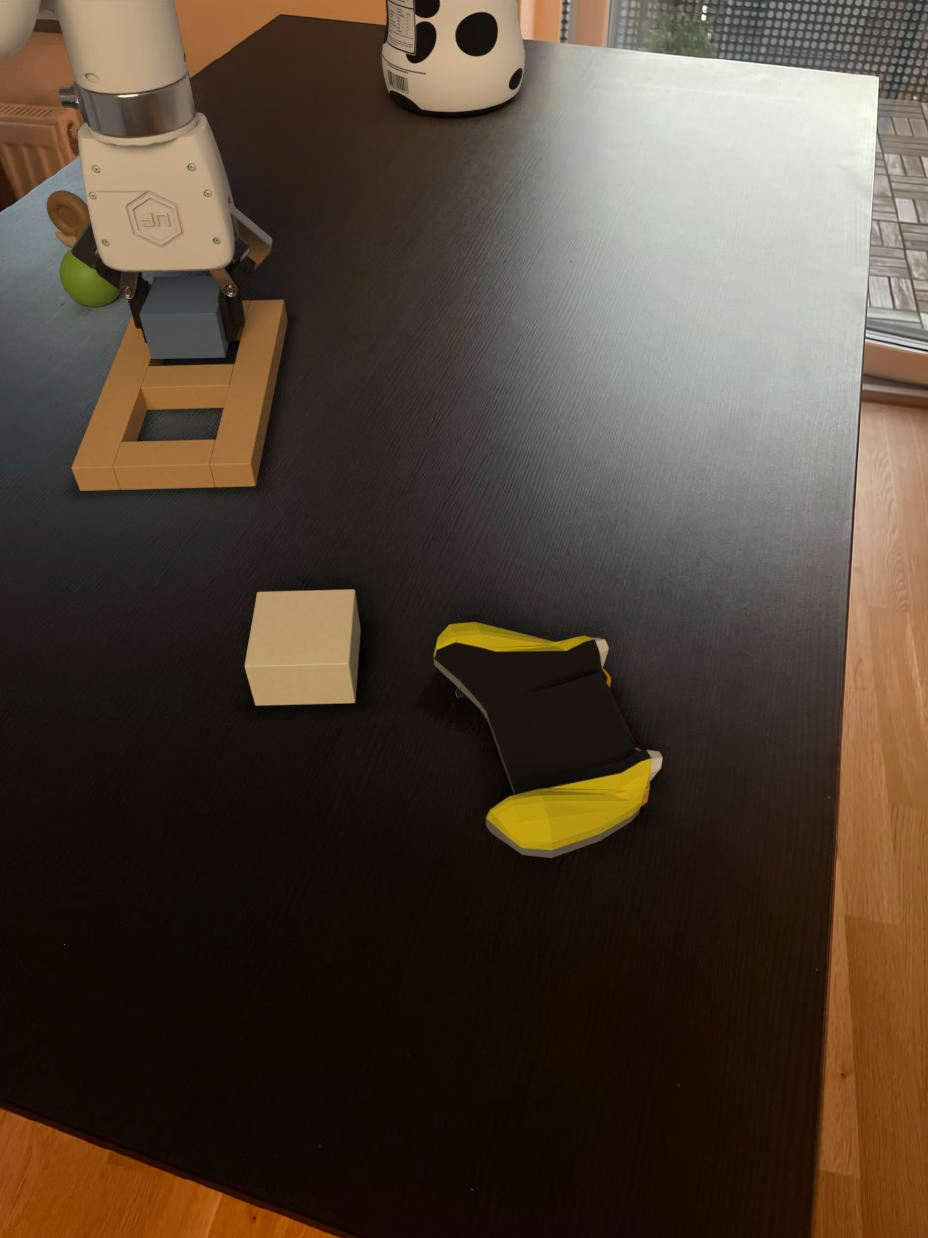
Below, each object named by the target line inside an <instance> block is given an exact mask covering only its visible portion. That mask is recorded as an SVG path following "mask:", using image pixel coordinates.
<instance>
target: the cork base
mask: <svg viewBox="0 0 928 1238" xmlns="http://www.w3.org/2000/svg"><path fill="white" fill-rule="evenodd" d="M242 304H243V309H244V315H245V323H244V327H239V329H238V333H237V337H236V341H239V345H238V349H237V352H236V358H235V361H234V363H226V364H225V363H224V364H223V363H222V364H221V363H220V364H188V365H187V364H185V365H184V364H183V365H182V364H181V365H163V364H164V361H165V359H151V355H150V351H149V348H148V344H146V343H145V341H144V337H143V334H142V330H141V329H137V328H136V327H135V324H134V320H133V317H132V316H130V319H129V322H128V324H127V327H126V329H125V332H124V335H123V337H122V340H121V341H120V344H119V348H118V350H117V352H116V355H115V356H114V360H113V362H112V365H111V367H110V370H109V372H108V375H107V377H106V380H105V383H104V384H103V387H102V390H101V393H100V395H99V398H98V400H97V402H96V405H95V408H94V410H93V412H92V415H91V418H90V419H89V422H88V425H87V428H86V429H85V433H84V435H83V438H82V441H81V443H80V445H79V448H78V451H77V453H76V455H75V458H74V460H73V462H72V465H71V471H72V474H73V476H74V478H75V481H76V484H77V487H78V489H79V491H80V492H81V491H82V492H83V491H84V492H85V491H86V492H88V491H90V492H91V491H120V490H123V491H124V490H161V489H163V490H165V489H198V488H199V489H200V488H201V489H203V488H205V489H206V488H238V487H239V488H240V487H256V486H257V483H258V477H259V471H260V467H261V462H262V461H261V460H262V456H263V452H264V446H265V441H266V436H267V431H268V425H269V421H270V416H271V409H272V405H273V400H274V395H275V389H276V384H277V378H278V374H279V369H280V362H281V359H282V353H283V348H284V343H285V338H286V332H287V327H288V316H287V308H286V303H285V300H284V299H260V300H253V299H252V300H250V299H249V300H247V299H246V300H242ZM186 409H187V410H189V409H222V413H221V417H220V421H219V425H218V429H217V434H216V438H215V439H183V440H181V439H180V440H177V439H176V440H145V441H144V440H143V441H140V440H139V441H138V438H139V435H140V432H141V430H142V426H143V423H144V422H145V421H144V420H145V418H146V415H147V412H148V410H149V411H153V410H186Z"/></svg>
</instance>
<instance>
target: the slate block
mask: <svg viewBox="0 0 928 1238" xmlns="http://www.w3.org/2000/svg"><path fill="white" fill-rule="evenodd" d="M150 284H151V288H150V290H149V293H148V295H147V298H146V301H145V303H144V305H143V307H142V310H141V312H140V319H141V322H142V326H143V330H144V333H145V337H146V341H147V344H148V348H149V351H150V355H151V359H164V360H171V359H173V360H174V359H177V360H178V359H222V358H223V359H224V358H226V356H227V352H228V349H229V345H230V342H228V340H226V335H225V330H224V326H223V321H222V316H221V311H220V306H219V303H218V295H219V292H220V288H219V286H218V284H217V283H216V281H215V280H214V278H213V276H212V275H177V276H176V275H175V276H174V275H173V276H172V275H171V276H153V279H152V281H151V283H150Z"/></svg>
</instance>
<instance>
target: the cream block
mask: <svg viewBox="0 0 928 1238" xmlns="http://www.w3.org/2000/svg"><path fill="white" fill-rule="evenodd" d="M360 643H361V622H360V616H359V609H358V602H357V595H356V590H355V589H351V588H349V589H321V590H320V589H316V590H280V591H279V590H278V591H257V592H256V597H255V603H254V608H253V614H252V621H251V626H250V632H249V637H248V644H247V649H246V655H245V661H244V670H245V673H246V676H247V680H248V684H249V688H250V691H251V695H252V698H253V702H254V706H256V707H257V706H290V705H291V706H293V705H294V706H295V705H296V706H297V705H330V704H331V705H333V704H356V700H357V686H358V671H359V658H360V657H359V656H360V645H361V644H360Z"/></svg>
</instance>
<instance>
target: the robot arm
mask: <svg viewBox="0 0 928 1238" xmlns="http://www.w3.org/2000/svg"><path fill="white" fill-rule="evenodd" d="M45 11H50V12H52V13H53V14H54V15H56V17H57V19H58V22H59V26H60V29H61V33H62V36H63V39H64V44H65V48H66V51H67V55H68V58H69V62H70V66H71V70H72V73H73V76H74V79H75V81H74V82H73V83H71V84H69V85H68V86H59V88H58V97H59V101H60V104H61V106H62V108H64V109H72V108H73V110H74V111H79V113H80V115H81V117H82V120H83V124H82V125H81V126H80V127H79V128H78V130H77V146H78V156H79V164H80V171H81V177H82V183H83V188H84V194H85V199H86V204H87V205H88V210H89V215H90V221H89V223H88V224H87V226H86V227H85V228H84V230H83V231H82V233H81V234H80V236H79V237H78V239H77V240H76V242H75V244H74V245H73V247H72V248H71V249H72V250H71V251H72V254H73V256H75V257H76V258H77V259H79V260H80V261H82V262H83V263H84V264H86V265H87V266H89V267H90V268H92V269H95V270H96V271H97V273H98V275H99V276H101V277H102V278H103V279H105V280H106V281H107V282H109V283H110V284H112V285H113V286H114V287H116V288H117V289H119V292H120V294H119V295H120V296H121V297H122V298H124V299H126V300H127V302H128V305H129V309H130V313H131V317H133V320H134V324H135V327H136V328H137V329H141V330H142V334H143V337H144V341H145V343H146V344H147V341H146V337H145V333H144V330H143V326H142V322H141V319H140V312H141V310H142V307H143V305H144V303H145V301H146V298H147V295H148V293H149V290H150V288H151V284H152V283H149V279H145V278H144V277H143V273H160V272H161V273H164V272H166V273H168V272H205V271H208V272H209V273H210V276H213V278H214V280H215V281H216V283H217V284H218V286H219V288H220V292H219V295H218V303H219V306H220V311H221V316H222V321H223V326H224V330H225V335H226V340H228V342H229V343H236V341H237V340H236V337H237V333H238V329H239V327H244V323H245V315H244V309H243V304H242V301H243V299H242V294H241V288H242V286H243V285H244V284H245V283H246V282H247V281H248V280H249V279H250V277H251V276H253V274H254V272H255V270H256V269H257V268H258V267H259V266H261V264H262V263H263V262H264V261H265V260H266V259H267V258H268V257H269V255H270V254H272V253H271V252H272V250H273V246H274V239H273V238H272V237H271V236H270V235H269V234H268V233H267V232H265V231H264V230H263V229H262V228H260V227H259V226H258V225H257V224H256V223H254V222H253V221H252V220H251V219H250V218H248V216H246V215H245V214H244V213H243V212H242V211H240V210H239V209H238V208H237V207H236V206H235V202H234V198H233V195H232V191H231V186H230V183H229V180H228V176H227V173H226V169H225V166H224V163H223V159H222V156H221V152H220V150H219V147H218V144H217V141H216V138H215V136H214V133H213V130H212V128H211V126H210V123H209V121H208V119H207V117H206V115H205V114H203V112H197V108H196V103H195V97H194V93H193V92H194V91H193V88H192V82H191V78H190V73H189V68H188V63H187V58H186V57H187V56H186V52H185V48H184V47H185V46H184V42H183V38H182V32H181V27H180V22H179V21H180V20H179V16H178V12H177V7H176V1H175V0H0V62H2V61H4V60H5V61H6V60H8V59H9V58H11V57H13V56H14V55H15V54H17V53H19V51H21V50H22V49H23V47H24V46H25V45H27V42H28V41H29V39H30V37H31V35H33V31H34V29H35V25H36V23H37V22H36V21H37V19H38V16H39V15H40V14H41V13H43V12H45ZM238 239H239V240H240V241H242V242H243V243H244V244H245V245H246V246H247V247H248V248H247V249H246V250H245V251H244V252H242V254H241V255H240V256H239V257H238V259H236V260H235V259H234V256H235V250H236V249H235V242H236V241H237V240H238Z"/></svg>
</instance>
